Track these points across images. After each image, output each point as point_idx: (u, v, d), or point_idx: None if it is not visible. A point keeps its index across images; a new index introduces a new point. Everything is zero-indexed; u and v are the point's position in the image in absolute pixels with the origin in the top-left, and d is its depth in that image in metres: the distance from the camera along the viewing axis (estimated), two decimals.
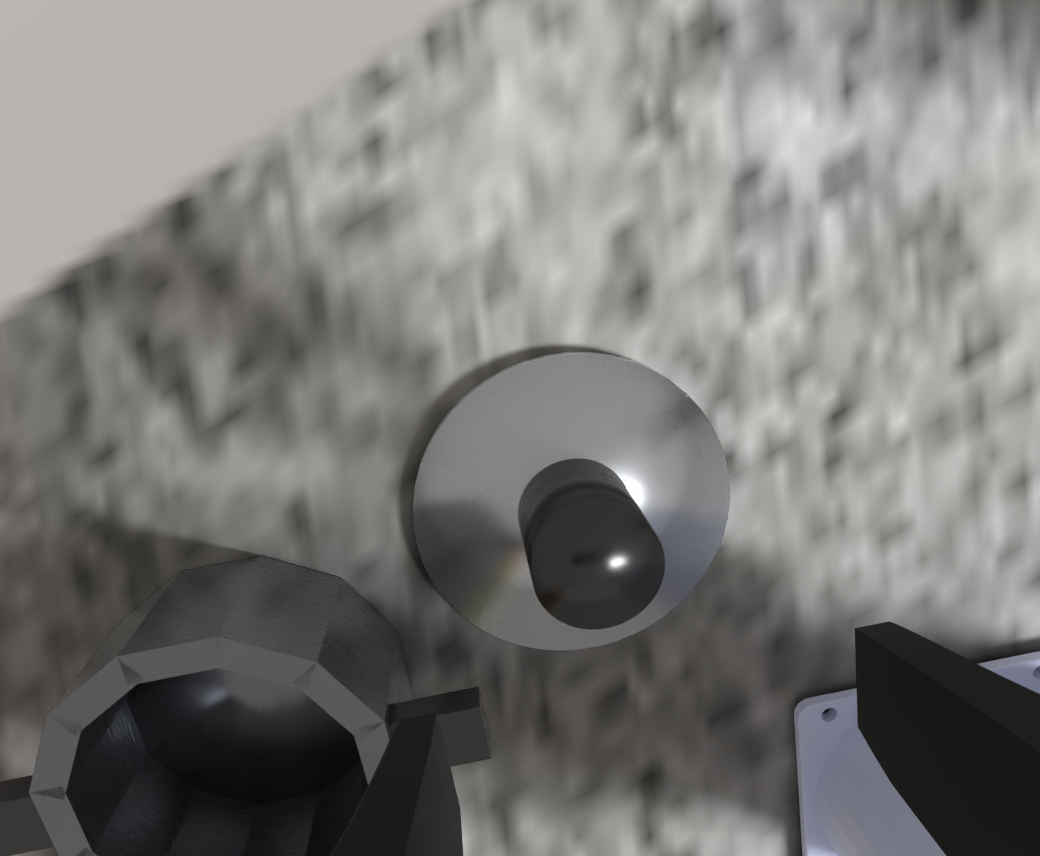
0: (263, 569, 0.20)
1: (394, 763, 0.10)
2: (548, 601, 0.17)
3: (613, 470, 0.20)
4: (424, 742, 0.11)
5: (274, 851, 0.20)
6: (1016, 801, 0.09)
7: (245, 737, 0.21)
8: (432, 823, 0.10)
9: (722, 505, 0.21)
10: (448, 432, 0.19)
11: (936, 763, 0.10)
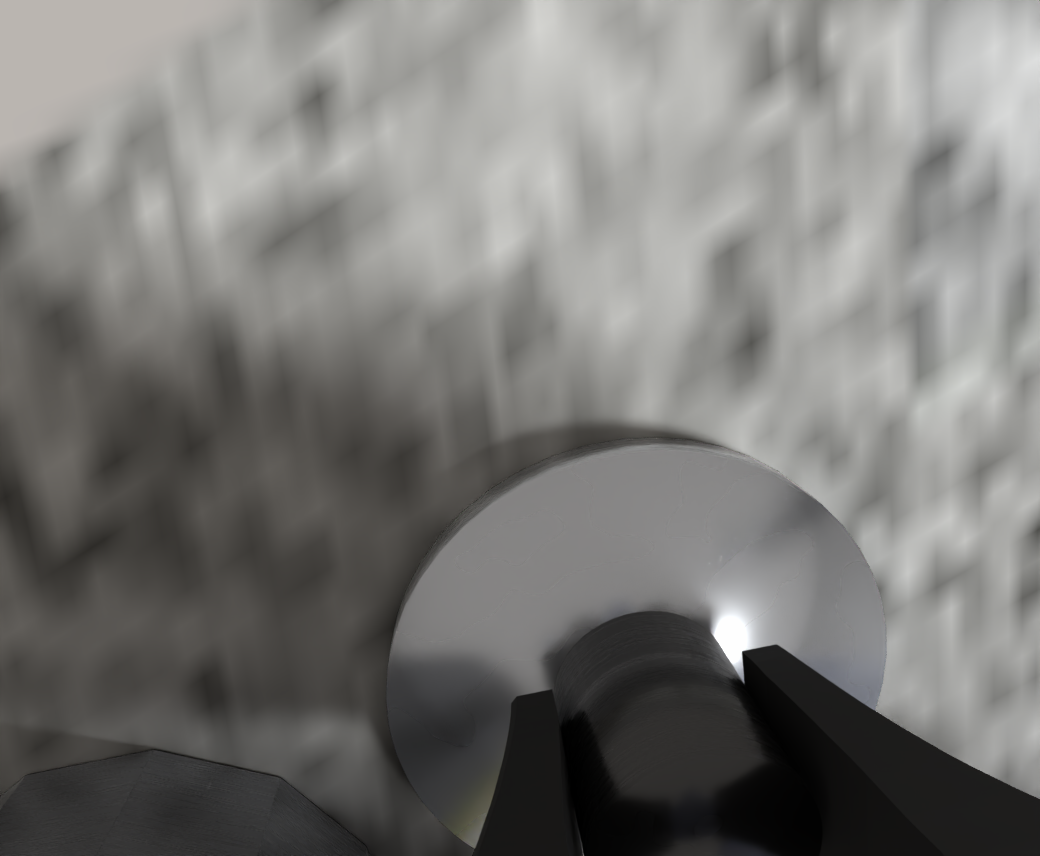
0: (151, 780, 0.12)
1: (526, 736, 0.10)
2: None
3: (703, 626, 0.13)
4: (550, 717, 0.11)
5: None
6: (864, 833, 0.09)
7: None
8: (567, 795, 0.10)
9: (874, 666, 0.13)
10: (435, 584, 0.12)
11: None
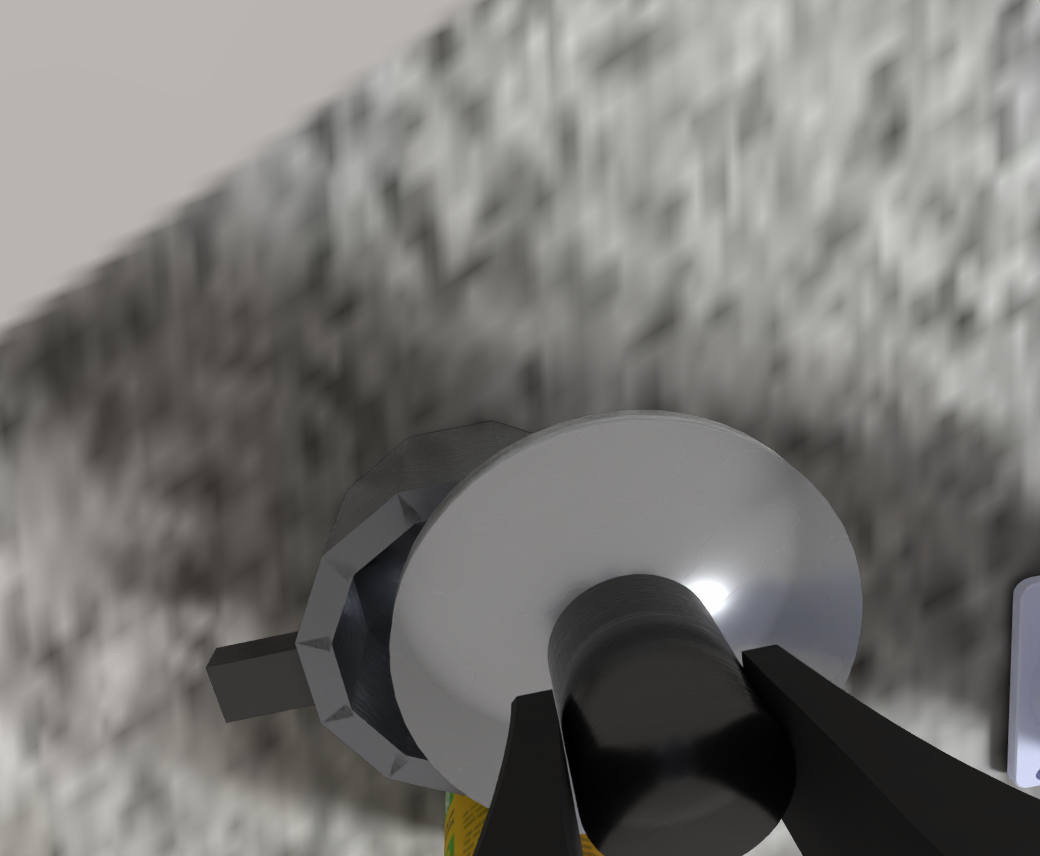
0: (501, 430, 0.19)
1: (526, 737, 0.10)
2: (603, 839, 0.11)
3: (692, 591, 0.13)
4: (550, 717, 0.11)
5: None
6: (864, 833, 0.09)
7: None
8: (567, 795, 0.10)
9: (849, 638, 0.14)
10: (443, 537, 0.13)
11: (804, 790, 0.10)
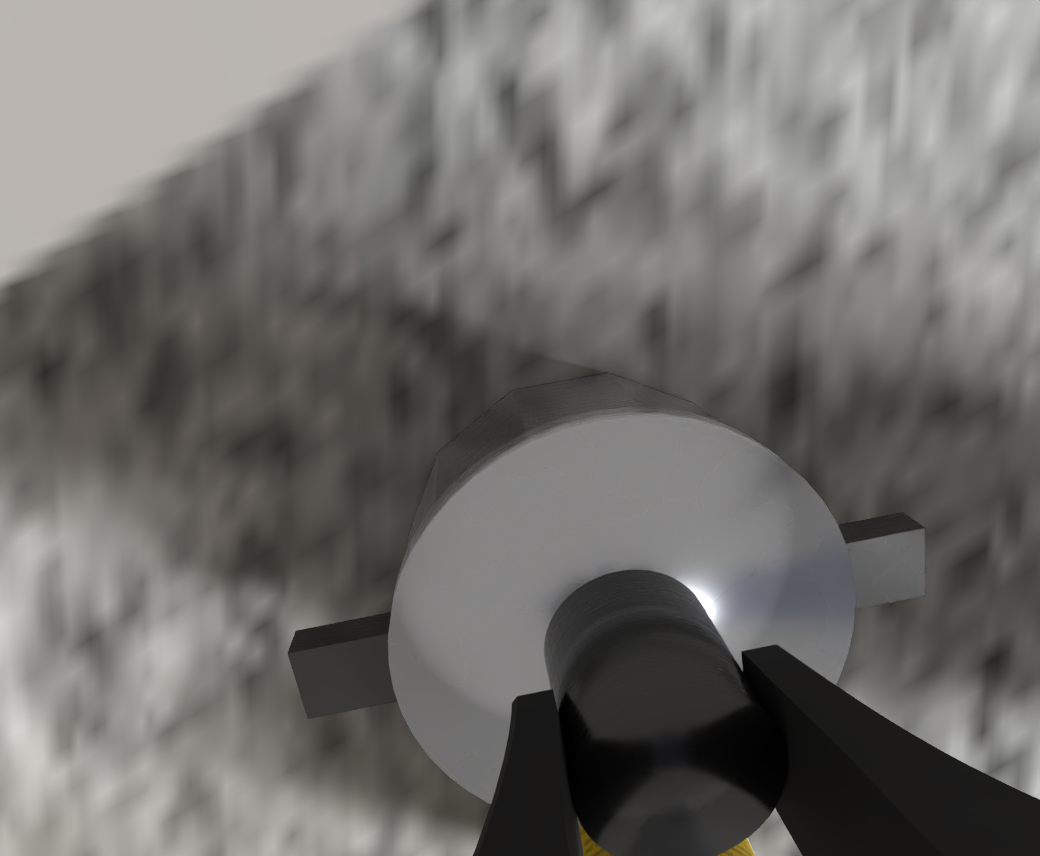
0: (622, 382, 0.17)
1: (526, 736, 0.10)
2: (597, 828, 0.11)
3: (688, 587, 0.13)
4: (550, 717, 0.11)
5: None
6: (863, 833, 0.09)
7: None
8: (568, 795, 0.10)
9: (842, 636, 0.14)
10: (443, 530, 0.13)
11: (805, 790, 0.10)
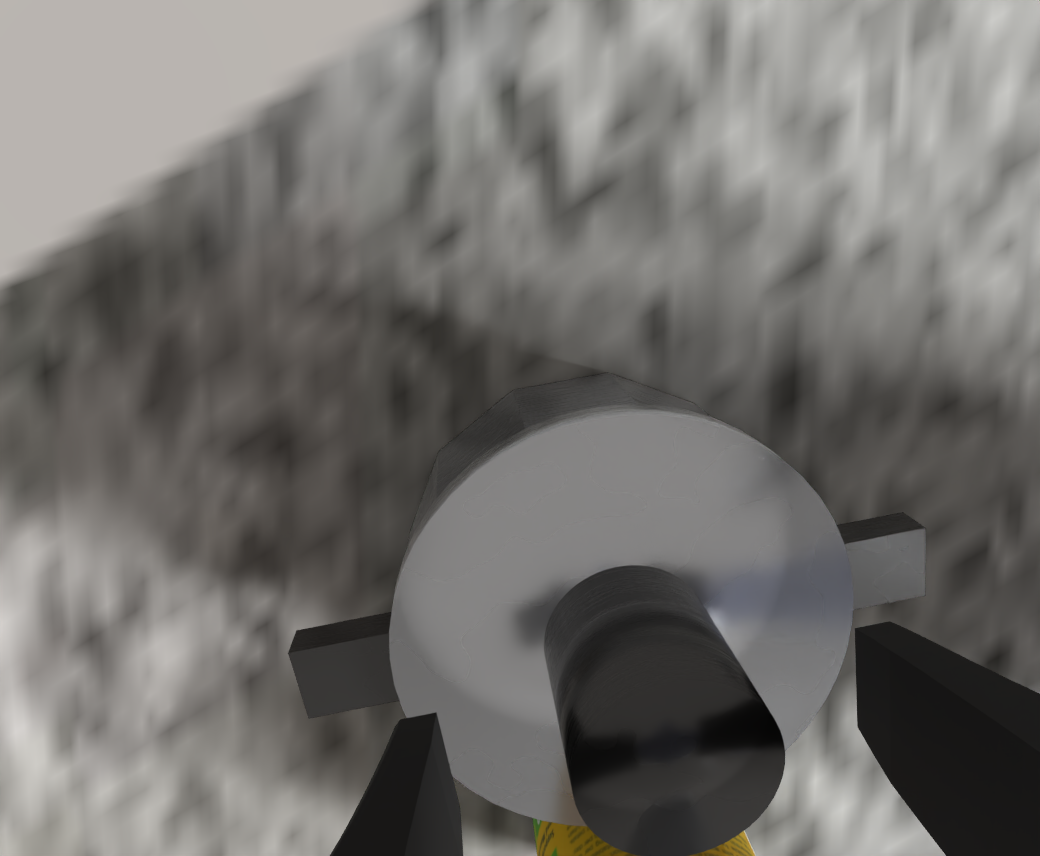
0: (623, 382, 0.17)
1: (394, 763, 0.10)
2: (596, 819, 0.11)
3: (687, 583, 0.14)
4: (424, 742, 0.11)
5: None
6: (1016, 801, 0.09)
7: None
8: (432, 823, 0.10)
9: (840, 632, 0.14)
10: (443, 526, 0.13)
11: (935, 762, 0.10)
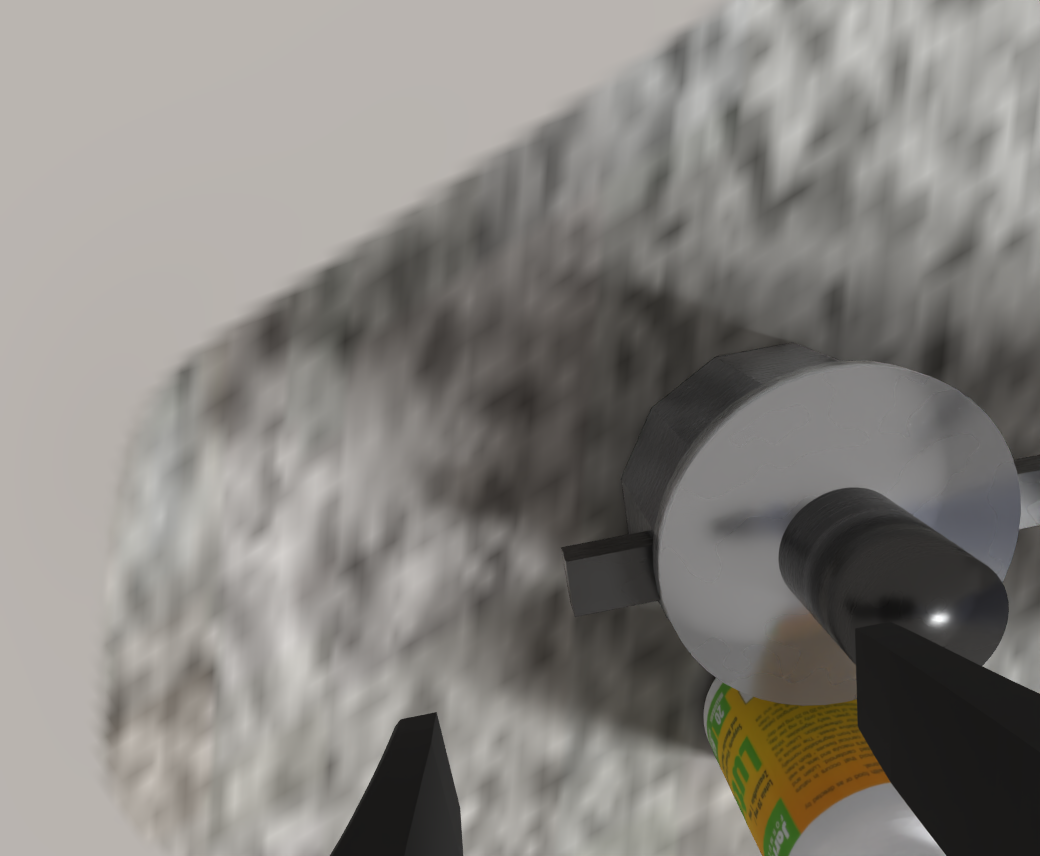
0: None
1: (394, 763, 0.10)
2: None
3: (893, 502, 0.17)
4: (424, 742, 0.11)
5: None
6: (1016, 801, 0.09)
7: None
8: (432, 823, 0.10)
9: (1007, 545, 0.18)
10: (714, 454, 0.16)
11: (935, 762, 0.10)
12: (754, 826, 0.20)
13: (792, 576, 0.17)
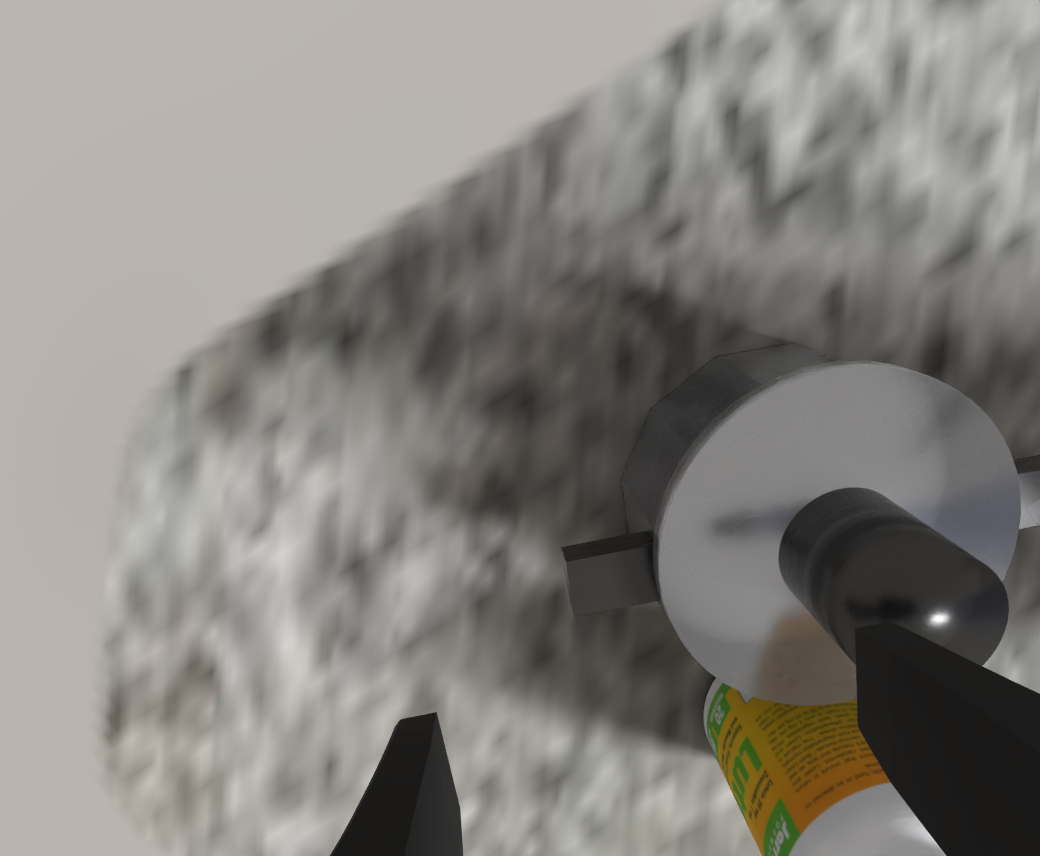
0: None
1: (394, 763, 0.10)
2: None
3: (893, 502, 0.17)
4: (424, 742, 0.11)
5: None
6: (1016, 801, 0.09)
7: None
8: (432, 823, 0.10)
9: (1007, 545, 0.18)
10: (714, 454, 0.16)
11: (935, 762, 0.10)
12: (754, 826, 0.20)
13: (792, 576, 0.17)
